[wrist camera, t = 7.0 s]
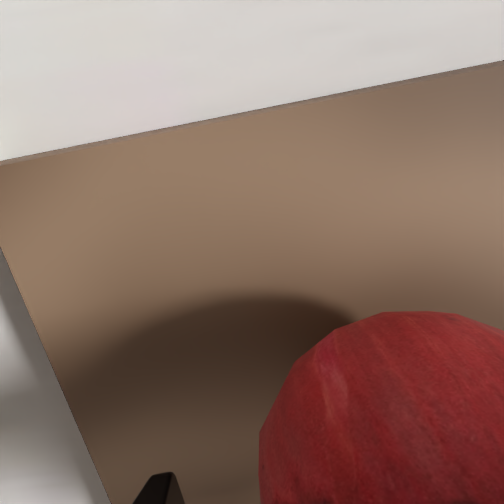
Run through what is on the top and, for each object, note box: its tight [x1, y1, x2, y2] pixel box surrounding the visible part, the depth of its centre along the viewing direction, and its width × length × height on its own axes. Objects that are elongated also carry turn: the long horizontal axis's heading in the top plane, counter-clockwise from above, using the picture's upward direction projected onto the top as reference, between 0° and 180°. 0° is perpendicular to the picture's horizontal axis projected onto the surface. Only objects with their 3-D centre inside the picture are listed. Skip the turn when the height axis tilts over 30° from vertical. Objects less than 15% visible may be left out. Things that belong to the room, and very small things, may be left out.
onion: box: [258, 311, 504, 504], centre depth 7 cm, size 6×6×8 cm
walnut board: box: [0, 60, 504, 504], centre depth 12 cm, size 12×14×2 cm
